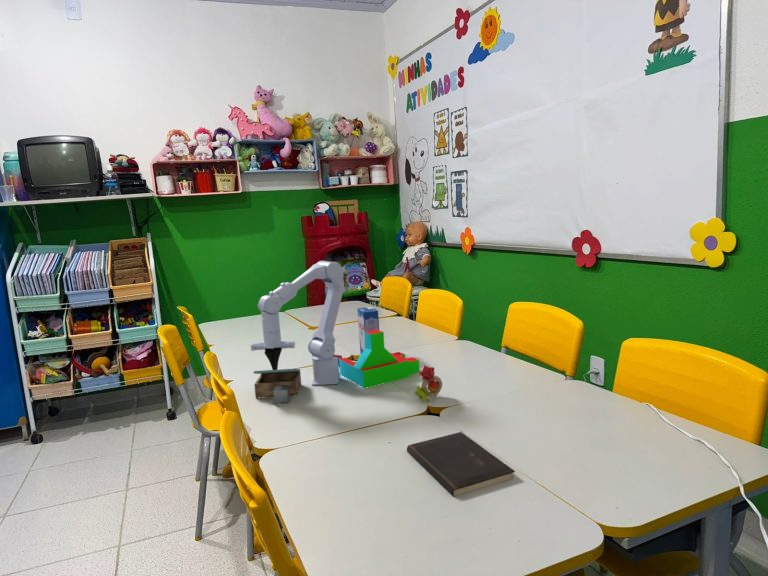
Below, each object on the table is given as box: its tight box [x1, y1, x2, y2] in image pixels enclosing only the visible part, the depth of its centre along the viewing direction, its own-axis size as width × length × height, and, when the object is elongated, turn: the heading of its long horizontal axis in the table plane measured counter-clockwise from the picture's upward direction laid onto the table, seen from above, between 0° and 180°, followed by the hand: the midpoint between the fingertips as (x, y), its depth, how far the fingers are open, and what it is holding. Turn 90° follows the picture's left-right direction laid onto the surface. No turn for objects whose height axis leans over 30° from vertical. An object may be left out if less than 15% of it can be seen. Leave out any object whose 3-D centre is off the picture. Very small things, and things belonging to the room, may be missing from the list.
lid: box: [253, 368, 301, 375], centre depth 178 cm, size 14×11×1 cm
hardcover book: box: [406, 431, 516, 497], centre depth 122 cm, size 16×23×2 cm
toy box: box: [253, 370, 302, 399], centre depth 179 cm, size 14×11×5 cm
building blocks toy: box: [339, 329, 421, 389], centre depth 190 cm, size 19×25×18 cm
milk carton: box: [357, 306, 380, 355], centre depth 214 cm, size 10×6×20 cm, turn 17°
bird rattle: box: [413, 365, 443, 402], centre depth 164 cm, size 6×11×9 cm
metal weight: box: [273, 385, 291, 406], centre depth 168 cm, size 4×4×5 cm
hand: (275, 369), depth 175 cm, fingers closed, pressing on lid
